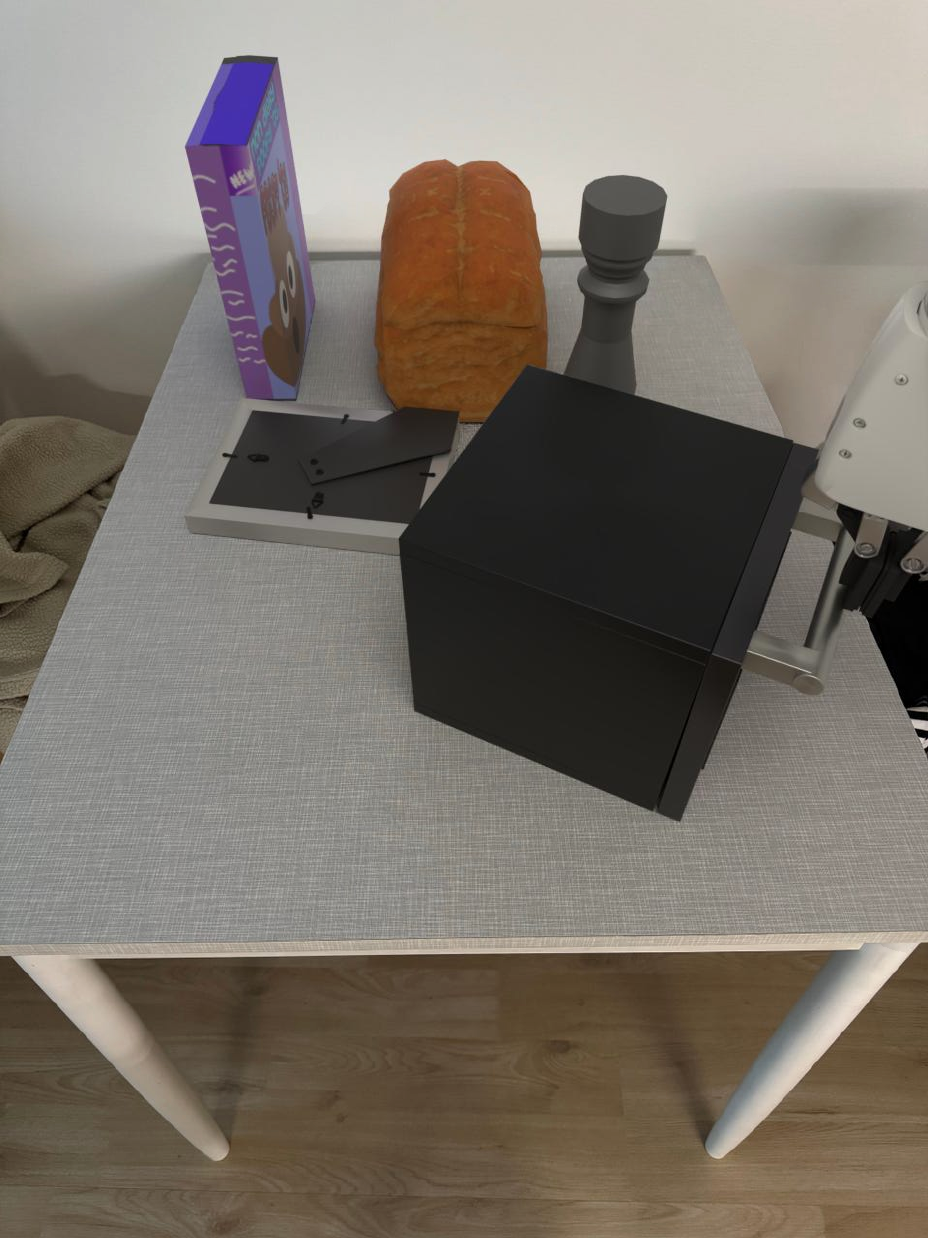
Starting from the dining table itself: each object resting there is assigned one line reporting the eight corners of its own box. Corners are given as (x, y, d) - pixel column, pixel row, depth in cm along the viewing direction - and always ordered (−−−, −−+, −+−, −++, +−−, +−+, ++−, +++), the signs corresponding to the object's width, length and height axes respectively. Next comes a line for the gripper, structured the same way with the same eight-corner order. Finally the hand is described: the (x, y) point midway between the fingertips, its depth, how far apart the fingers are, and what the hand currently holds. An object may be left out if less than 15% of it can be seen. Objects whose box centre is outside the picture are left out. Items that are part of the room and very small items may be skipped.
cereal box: (296, 400, 85) (246, 142, 66) (247, 400, 85) (184, 143, 66) (315, 300, 96) (277, 54, 77) (271, 300, 96) (223, 54, 77)
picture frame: (459, 435, 82) (245, 415, 84) (459, 411, 80) (239, 391, 82) (431, 558, 72) (190, 532, 74) (429, 534, 70) (181, 508, 72)
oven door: (807, 646, 66) (892, 469, 52) (744, 849, 56) (829, 695, 42) (730, 620, 68) (793, 441, 54) (656, 812, 58) (710, 653, 44)
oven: (727, 620, 68) (794, 439, 54) (652, 811, 58) (711, 651, 44) (515, 546, 73) (526, 363, 59) (413, 711, 63) (397, 538, 49)
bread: (377, 426, 83) (360, 270, 70) (388, 274, 99) (376, 126, 87) (547, 424, 83) (561, 267, 70) (530, 272, 99) (538, 123, 87)
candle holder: (603, 444, 81) (646, 167, 61) (632, 487, 77) (687, 208, 58) (541, 458, 80) (564, 180, 60) (567, 503, 76) (601, 223, 57)
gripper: (1243, 299, 34) (1009, 594, 49) (857, 213, 38) (746, 510, 53) (1256, 410, 30) (995, 696, 45) (821, 300, 34) (712, 597, 49)
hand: (861, 595), depth 49 cm, fingers closed
